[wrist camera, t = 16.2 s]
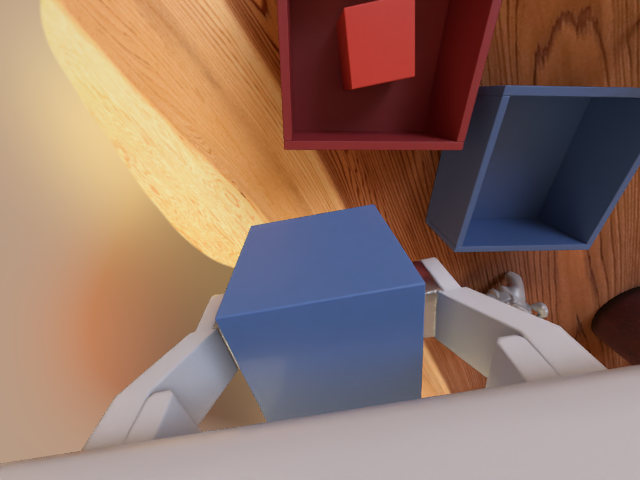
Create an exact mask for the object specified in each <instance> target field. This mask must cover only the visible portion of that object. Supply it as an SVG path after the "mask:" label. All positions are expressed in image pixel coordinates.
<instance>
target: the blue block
mask: <svg viewBox="0 0 640 480" xmlns="http://www.w3.org/2000/svg"><path fill="white" fill-rule="evenodd" d="M424 310H425V282H424V280H423V279H422V277H421V275H420V274H419V272H418V271H417V269H416V268H415V266H414V265H413V263H412V262H411V260H410V259H409V257H408V256H407V254H406V252H405V251H404V249H403V248H402V246H401V245H400V243H399V242H398V240H397V239H396V237H395V236H394V234H393V233H392V231H391V230H390V228H389V226H388V225H387V223H386V222H385V220H384V219H383V217H382V216H381V214H380V213H379V211H378V210H377V208H376V207H375V205H374V204H372V205H367V206H361V207H355V208H350V209H344V210H339V211H333V212H327V213H322V214H316V215H311V216H305V217H300V218H294V219H288V220H283V221H277V222H272V223H266V224H260V225H255V226H251V228H250V230H249V233H248V235H247V238H246V240H245V243H244V246H243V248H242V251H241V253H240V256H239V258H238V261H237V263H236V266H235V268H234V271H233V273H232V276H231V278H230V281H229V283H228V286H227V289H226V291H225V294H224V296H223V299H222V301H221V304H220V306H219V309H218V311H217V314H216V316H215V321H216V323H217V325H218V326H219V328H220V330H221V332H222V334H223V336H224V338H225V340H226V342H227V344H228V346H229V348H230V350H231V352H232V354H233V356H234V358H235V360H236V362H237V364H238V366H239V368H240V370H241V372H242V374H243V376H244V377H245V379H246V381H247V383H248V385H249V387H250V389H251V391H252V393H253V395H254V397H255V399H256V401H257V403H258V405H259V407H260V409H261V411H262V413H263V415H264V417H265V418H266V420H267V422H272V421H278V420H285V419H291V418H298V417H304V416H311V415H317V414H324V413H330V412H337V411H343V410H350V409H356V408H363V407H369V406H376V405H382V404H388V403H395V402H401V401H408V400H414V399H420V398H421V388H422V362H423V336H424Z"/></svg>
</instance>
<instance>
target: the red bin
mask: <svg viewBox="0 0 640 480" xmlns="http://www.w3.org/2000/svg"><path fill="white" fill-rule="evenodd" d="M372 1H377V0H277V15H278V34H279V54H280V74H281V93H282V113H283V133H284V149H285V150H462V149H463V145H464V141H465V138H466V134H467V130H468V126H469V123H470V119H471V115H472V111H473V107H474V104H475V100H476V96H477V92H478V89H479V85H480V81H481V77H482V74H483V70H484V66H485V62H486V59H487V55H488V51H489V47H490V44H491V40H492V36H493V32H494V29H495V25H496V21H497V17H498V14H499V10H500V6H501V2H502V0H415V76H414V77H411V78H406V79H401V80H396V81H391V82H386V83H381V84H376V85H372V86H367V87H362V88H357V89H351V90H343V83H342V74H341V65H340V57H339V48H338V40H337V31H336V24H337V21H338V19H339V17H340V15H341V13H342V11H343V9H344V8H345V7H349V6H354V5H358V4H363V3H368V2H372Z"/></svg>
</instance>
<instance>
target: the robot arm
mask: <svg viewBox="0 0 640 480" xmlns="http://www.w3.org/2000/svg"><path fill="white" fill-rule="evenodd" d="M412 263H413V265H414V266H415V268H416V269H417V271H418V272H419V274H420V275H421V277H422V279H423V280H424V282H425V310H424V336H423V338H427V337H434V336H435V338H436V339H437V340H438V341H439V342H441V343H442V344H443V345H445V346H446V347H447V348H449V349H450V350H451V351H453V352H454V353H455V354H456V355H458V356H459V357H460V358H462V359H463V360H464V361H466V362H467V363H468V364H470V365H471V366H472V367H473V368H475V369H476V370H477V371H479V372H480V373H481V374H483V375H484V376H485V377H487V378H488V379H487V383H486V387H485V389H478V390H472V391H465V392H459V393H453V394H446V395H440V396H433V397H427V398H420V399H414V400H408V401H401V402H395V403H388V404H382V405H376V406H369V407H363V408H356V409H350V410H343V411H337V412H330V413H324V414H317V415H311V416H304V417H298V418H291V419H285V420H278V421H272V422H266V423H259V424H253V425H246V426H240V427H233V428H227V429H220V430H214V431H208V432H203V431H202V430H201V429H200V428H199V426H198V425H199V424H200V423H201V421H202V420H203V418H204V417H205V415H206V414H207V413H208V411H209V410H210V408H211V407H212V406H213V404H214V403H215V401H216V400H217V399H218V397H219V396H220V394H221V393H222V392H223V390H224V389H225V387H226V386H227V385H228V383H229V382H230V380H231V379H232V378H233V376H234V375H235V373H236V372H237V371H238V369H237V368H239V366H238V364H237V362H236V360H235V358H234V356H233V354H232V352H231V350H230V348H229V346H228V344H227V342H226V340H225V338H224V336H223V334H222V332H221V330H220V328H219V326H218V325H217V323H216V321H215V316H216V314H217V311H218V309H219V306H220V304H221V301H222V299H223V296H224V294H225V293H223V294H217V295H214V296H212V297H211V298H210V300H209V303H208V305H207V307H206V309H205V311H204V313H203V316H202V318H201V320H200V322H199V324H198V326H197V329H196V331H195V332H193V333H190V334H189V335H187V336H186V337H185V338H184V339H183V340H182V341H180V342H179V343H178V344H177V345H176V346H174V347H173V348H172V349H171V350H170V351H168V353H166V354H165V355H164V356H163V357H161V358H160V359H159V360H158V361H157V362H156V363H154V364H153V365H152V366H151V367H150V368H149V369H147V370H146V371H145V372H144V373H143V374H141V375H140V376H139V377H138V378H137V379H136V380H134V381H133V382H132V383H131V384H130V385H129V386H127V387H126V388H125V389H124V390H123V391H122V392H120V393H119V394H118V395H117V396H116V397H115V398H114V399H113V401H112V402H111V404H110V406H109V407H108V409H107V411H106V412H105V414H104V415H103V417H102V418H101V420H100V422H99V423H98V425H97V426H96V428H95V430H94V431H93V433H92V434H91V436H90V438H89V439H88V441H87V442H86V444H85V446H84V447H83V449H82V450H81V451H78V452H71V453H65V454H58V455H52V456H46V457H40V458H33V459H26V460H20V461H14V462H7V463H0V480H640V365H633V366H627V367H620V368H614V369H607V368H606V367H605V366H603V365H602V364H601V363H600V362H599V361H598V360H597V359H596V358H595V357H593V356H592V355H591V354H590V353H589V352H588V351H587V350H586V349H585V348H583V347H582V346H581V345H580V344H579V343H578V342H577V341H576V340H575V339H573V338H572V337H571V336H570V335H569V334H568V333H567V332H566V331H565V330H563V329H562V328H561V327H560V326H558V325H556V324H553V323H551V322H548V321H546V320H544V319H541V318H539V317H537V316H534V315H532V314H529V313H527V312H525V311H522V310H520V309H518V308H515V307H513V306H510V305H508V304H506V303H503V302H501V301H499V300H496V299H494V298H491V297H489V296H487V295H484V294H482V293H479V292H477V291H475V290H472V289H470V288H468V287H462V288H461V287H460V285H459V284H458V283H457V282H456V281H455V280H454V278H453V277H452V276H451V275H450V274H449V272H448V271H447V270H446V269H445V268H444V266H443V265H442V264H441V263H440V262H439V260H438V259H437V258H435V257H432V258H427V259H422V260H419V261H414V262H412Z"/></svg>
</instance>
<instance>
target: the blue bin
mask: <svg viewBox="0 0 640 480" xmlns="http://www.w3.org/2000/svg"><path fill="white" fill-rule="evenodd" d="M639 165H640V88H626V87H571V86H515V85H502V86H481V87H479V89H478V92H477V96H476V100H475V104H474V107H473V111H472V115H471V119H470V123H469V126H468V130H467V134H466V138H465V141H464V145H463V149H462V150H442V152H441V157H440V161H439V165H438V170H437V174H436V178H435V183H434V187H433V191H432V196H431V200H430V204H429V209H428V213H427V217H426V223H427V224H428V225H429V227H430V228H431V229H432V230H433V231H434V232H435V233H436V234H437V235H438V236H439V237H440V238H441V239H442V240H443V241H444V242H445V243H446V244H447V245H448V246H449V247H450V248H451V249H452V250H453V251H454V252H491V251H540V250H589V249H590V247H591V245H592V244H593V242H594V240H595V239H596V237H597V235H598V234H599V232H600V230H601V229H602V227H603V225H604V224H605V222H606V220H607V219H608V217H609V215H610V214H611V212H612V210H613V209H614V207H615V205H616V204H617V202H618V200H619V199H620V197H621V195H622V194H623V192H624V190H625V189H626V187H627V185H628V184H629V182H630V180H631V179H632V177H633V175H634V174H635V172H636V170H637V169H638V167H639Z"/></svg>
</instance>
